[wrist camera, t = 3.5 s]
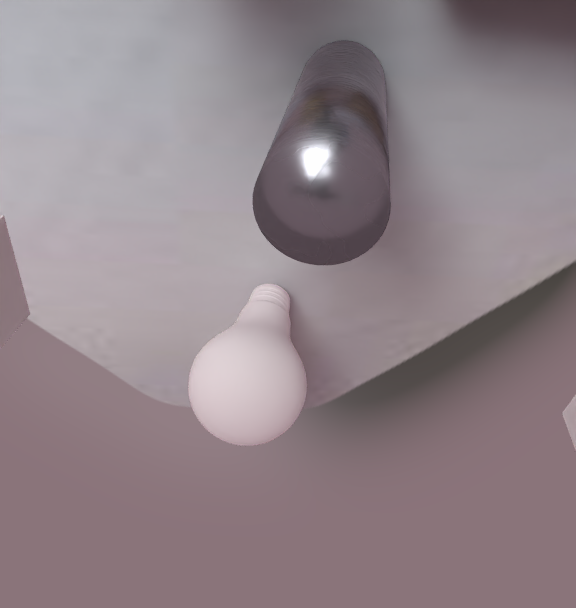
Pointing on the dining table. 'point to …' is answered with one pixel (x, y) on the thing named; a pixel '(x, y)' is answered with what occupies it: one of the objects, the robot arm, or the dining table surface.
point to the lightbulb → (250, 374)
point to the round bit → (329, 161)
